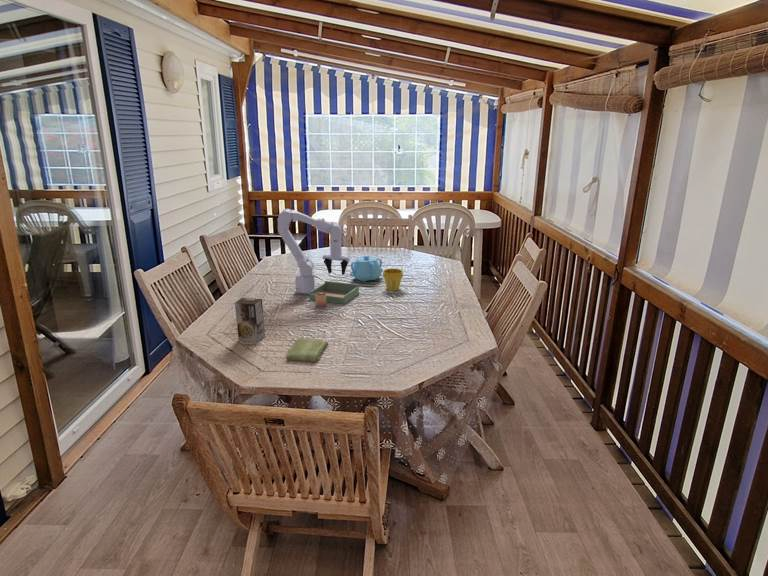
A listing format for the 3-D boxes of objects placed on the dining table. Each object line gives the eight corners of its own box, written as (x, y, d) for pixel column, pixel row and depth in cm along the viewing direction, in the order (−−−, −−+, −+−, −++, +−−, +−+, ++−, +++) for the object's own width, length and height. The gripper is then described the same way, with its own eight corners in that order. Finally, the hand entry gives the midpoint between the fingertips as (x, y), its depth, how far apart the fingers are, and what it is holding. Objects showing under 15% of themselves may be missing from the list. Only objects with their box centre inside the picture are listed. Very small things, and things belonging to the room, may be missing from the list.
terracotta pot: (313, 306, 240) (313, 294, 238) (319, 303, 244) (318, 291, 243) (323, 307, 238) (323, 295, 236) (328, 304, 243) (328, 292, 241)
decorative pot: (373, 284, 274) (373, 260, 270) (347, 281, 281) (346, 257, 277) (385, 277, 289) (385, 254, 284) (360, 273, 295) (360, 251, 291)
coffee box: (265, 336, 206) (262, 298, 201) (258, 342, 200) (255, 303, 195) (245, 334, 208) (242, 297, 203) (237, 340, 202) (234, 302, 197)
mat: (304, 307, 239) (304, 307, 239) (314, 301, 248) (314, 301, 247) (327, 310, 235) (327, 310, 234) (336, 304, 243) (336, 303, 243)
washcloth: (329, 344, 199) (329, 337, 198) (318, 364, 182) (317, 356, 181) (297, 342, 201) (296, 335, 200) (283, 362, 184) (282, 354, 183)
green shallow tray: (309, 299, 250) (309, 290, 248) (325, 289, 265) (325, 280, 264) (344, 304, 244) (344, 294, 242) (358, 293, 259) (358, 284, 257)
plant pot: (400, 292, 261) (400, 274, 258) (381, 291, 263) (381, 273, 260) (404, 286, 271) (404, 268, 268) (385, 285, 273) (385, 267, 270)
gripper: (319, 248, 255) (320, 274, 259) (345, 250, 251) (346, 277, 255) (325, 245, 262) (326, 270, 266) (351, 247, 257) (351, 273, 261)
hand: (336, 273), depth 261 cm, fingers open, 7 cm apart
